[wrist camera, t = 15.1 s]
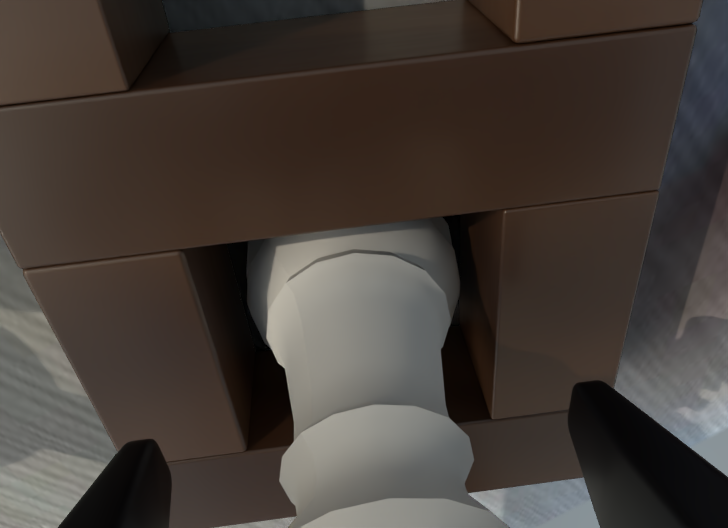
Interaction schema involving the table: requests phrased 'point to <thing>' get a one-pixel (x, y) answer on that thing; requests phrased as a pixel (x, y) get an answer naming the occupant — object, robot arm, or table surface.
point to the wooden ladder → (334, 206)
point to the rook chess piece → (366, 374)
